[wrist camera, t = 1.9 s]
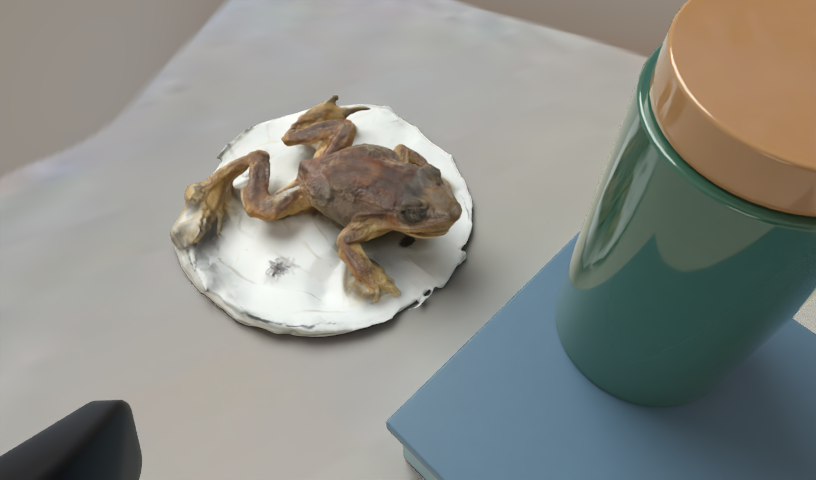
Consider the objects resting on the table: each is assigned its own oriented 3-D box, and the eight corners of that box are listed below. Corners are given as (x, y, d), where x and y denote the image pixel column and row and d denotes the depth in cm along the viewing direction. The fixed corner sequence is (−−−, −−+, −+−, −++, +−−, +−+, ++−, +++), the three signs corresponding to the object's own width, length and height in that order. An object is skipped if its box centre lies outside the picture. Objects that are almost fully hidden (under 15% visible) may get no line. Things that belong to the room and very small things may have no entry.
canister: (769, 320, 20) (1040, 58, 11) (670, 448, 18) (906, 249, 9) (621, 218, 22) (753, -71, 13) (518, 322, 20) (594, 63, 11)
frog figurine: (516, 149, 29) (529, 84, 26) (404, 393, 23) (402, 349, 20) (287, 76, 31) (272, 9, 28) (134, 278, 26) (93, 223, 22)
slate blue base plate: (951, 518, 21) (1050, 492, 17) (775, 854, 16) (861, 900, 13) (590, 253, 26) (614, 196, 23) (389, 456, 22) (384, 421, 19)
